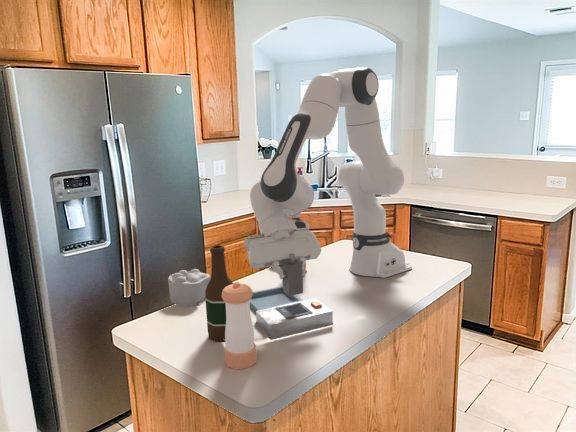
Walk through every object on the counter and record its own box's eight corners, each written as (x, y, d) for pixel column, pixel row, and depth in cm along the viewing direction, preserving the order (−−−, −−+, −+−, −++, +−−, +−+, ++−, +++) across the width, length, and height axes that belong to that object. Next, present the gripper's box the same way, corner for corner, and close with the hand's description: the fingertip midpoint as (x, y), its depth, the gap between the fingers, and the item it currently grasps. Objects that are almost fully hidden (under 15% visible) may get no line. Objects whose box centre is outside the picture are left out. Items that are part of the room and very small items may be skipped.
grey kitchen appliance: (315, 311, 132) (314, 295, 131) (332, 324, 123) (332, 308, 122) (256, 324, 125) (255, 308, 124) (270, 340, 116) (270, 322, 115)
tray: (284, 293, 146) (284, 285, 146) (304, 308, 134) (303, 300, 133) (242, 301, 141) (242, 294, 140) (259, 318, 128) (258, 310, 128)
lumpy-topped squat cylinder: (196, 308, 137) (193, 280, 135) (161, 302, 143) (159, 275, 141) (215, 295, 146) (213, 269, 145) (182, 290, 152) (180, 265, 150)
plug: (296, 288, 124) (295, 251, 122) (302, 293, 121) (302, 255, 119) (282, 290, 123) (281, 253, 121) (289, 295, 119) (288, 257, 117)
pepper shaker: (248, 371, 102) (243, 290, 98) (219, 365, 104) (213, 286, 100) (261, 355, 108) (258, 278, 104) (234, 350, 111) (229, 275, 107)
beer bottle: (205, 332, 121) (198, 244, 116) (234, 326, 124) (228, 241, 119) (211, 345, 114) (204, 252, 109) (241, 339, 117) (236, 248, 111)
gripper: (244, 230, 120) (259, 277, 114) (313, 221, 129) (331, 264, 122) (239, 243, 125) (253, 288, 118) (306, 233, 133) (323, 275, 127)
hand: (293, 276), depth 120 cm, fingers closed on plug, 4 cm apart
